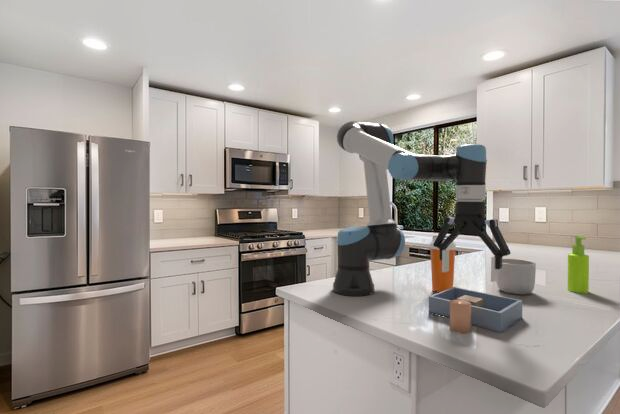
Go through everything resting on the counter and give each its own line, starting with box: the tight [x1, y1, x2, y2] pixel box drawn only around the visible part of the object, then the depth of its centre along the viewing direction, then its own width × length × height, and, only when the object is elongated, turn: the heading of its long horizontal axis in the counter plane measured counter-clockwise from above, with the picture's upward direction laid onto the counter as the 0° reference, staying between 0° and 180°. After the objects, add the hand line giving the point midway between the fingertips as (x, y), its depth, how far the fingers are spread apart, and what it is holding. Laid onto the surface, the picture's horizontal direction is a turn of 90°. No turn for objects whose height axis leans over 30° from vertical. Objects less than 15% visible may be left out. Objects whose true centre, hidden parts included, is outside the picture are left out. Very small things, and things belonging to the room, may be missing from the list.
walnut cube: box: [457, 295, 483, 308], centre depth 93 cm, size 5×5×5 cm
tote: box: [428, 286, 523, 334], centre depth 96 cm, size 20×16×5 cm
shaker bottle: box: [429, 235, 457, 293], centre depth 122 cm, size 9×9×20 cm
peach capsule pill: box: [449, 300, 472, 334], centre depth 86 cm, size 5×5×7 cm
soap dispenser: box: [567, 235, 590, 294], centre depth 119 cm, size 6×7×20 cm
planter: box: [496, 258, 537, 295], centre depth 120 cm, size 12×12×11 cm
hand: (468, 276), depth 94 cm, fingers open, 13 cm apart
